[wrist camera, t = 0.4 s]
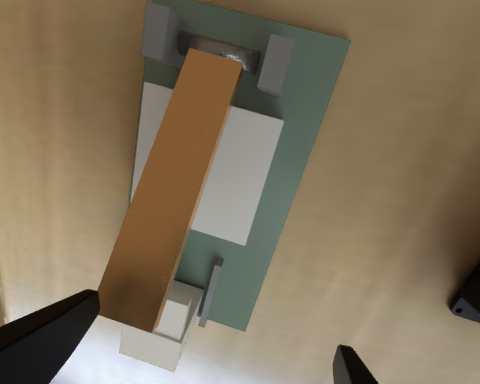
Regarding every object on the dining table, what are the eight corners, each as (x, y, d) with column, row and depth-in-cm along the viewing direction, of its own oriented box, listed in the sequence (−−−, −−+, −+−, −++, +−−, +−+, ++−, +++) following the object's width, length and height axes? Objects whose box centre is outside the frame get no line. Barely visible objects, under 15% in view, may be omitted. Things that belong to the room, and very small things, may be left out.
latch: (211, 261, 21) (189, 309, 16) (197, 314, 23) (174, 372, 18) (164, 246, 21) (127, 288, 16) (154, 299, 23) (119, 352, 18)
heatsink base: (348, 43, 15) (378, 12, 11) (245, 326, 24) (237, 378, 19) (157, -6, 16) (108, -55, 12) (123, 285, 25) (86, 325, 20)
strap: (260, 61, 14) (262, 45, 13) (172, 329, 12) (165, 340, 10) (187, 42, 14) (182, 24, 13) (89, 300, 12) (72, 308, 11)
